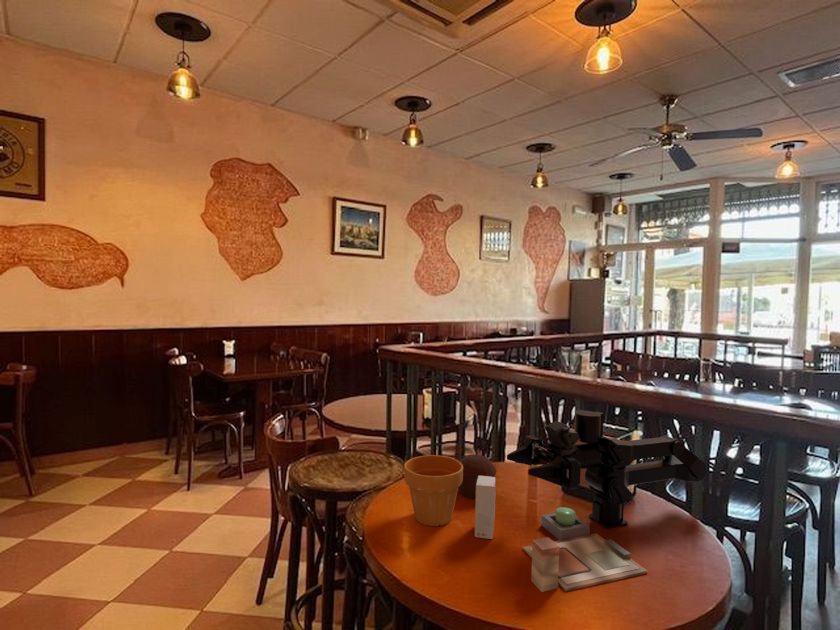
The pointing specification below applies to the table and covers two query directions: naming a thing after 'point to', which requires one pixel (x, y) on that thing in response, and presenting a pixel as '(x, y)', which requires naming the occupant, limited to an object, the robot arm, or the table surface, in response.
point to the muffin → (474, 473)
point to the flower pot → (433, 487)
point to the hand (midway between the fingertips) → (517, 464)
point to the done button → (565, 516)
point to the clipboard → (592, 562)
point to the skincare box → (485, 507)
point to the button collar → (565, 532)
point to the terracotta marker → (545, 564)
